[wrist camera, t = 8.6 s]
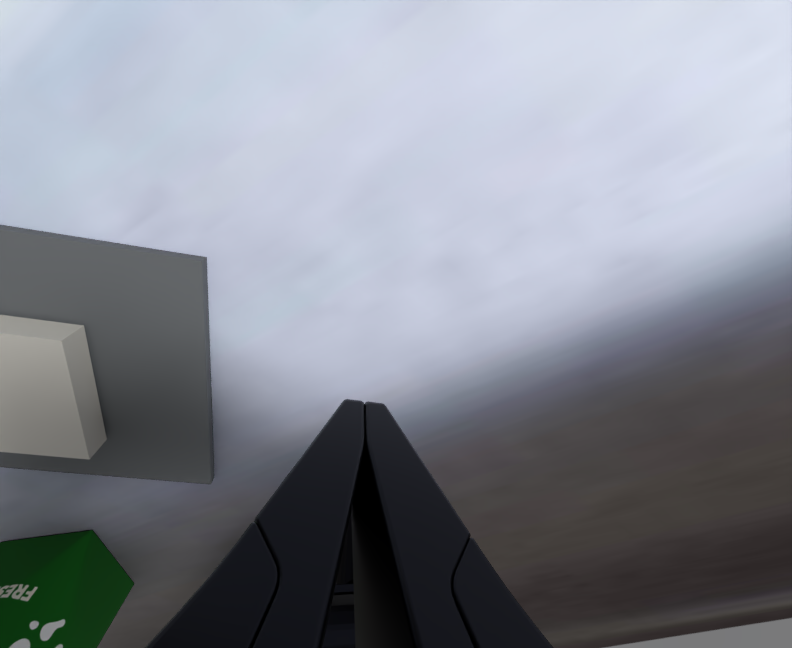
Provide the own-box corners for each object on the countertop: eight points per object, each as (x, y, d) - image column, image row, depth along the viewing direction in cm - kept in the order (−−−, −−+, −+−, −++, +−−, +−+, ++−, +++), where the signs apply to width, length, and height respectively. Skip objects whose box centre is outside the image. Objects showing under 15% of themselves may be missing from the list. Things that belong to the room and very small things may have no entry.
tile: (89, 459, 22) (-69, 445, 21) (108, 437, 24) (-38, 423, 22) (61, 340, 18) (-131, 316, 17) (86, 323, 20) (-89, 300, 19)
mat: (214, 477, 26) (211, 484, 26) (-120, 448, 24) (-132, 456, 23) (206, 257, 19) (201, 260, 19) (-271, 182, 17) (-292, 183, 16)
